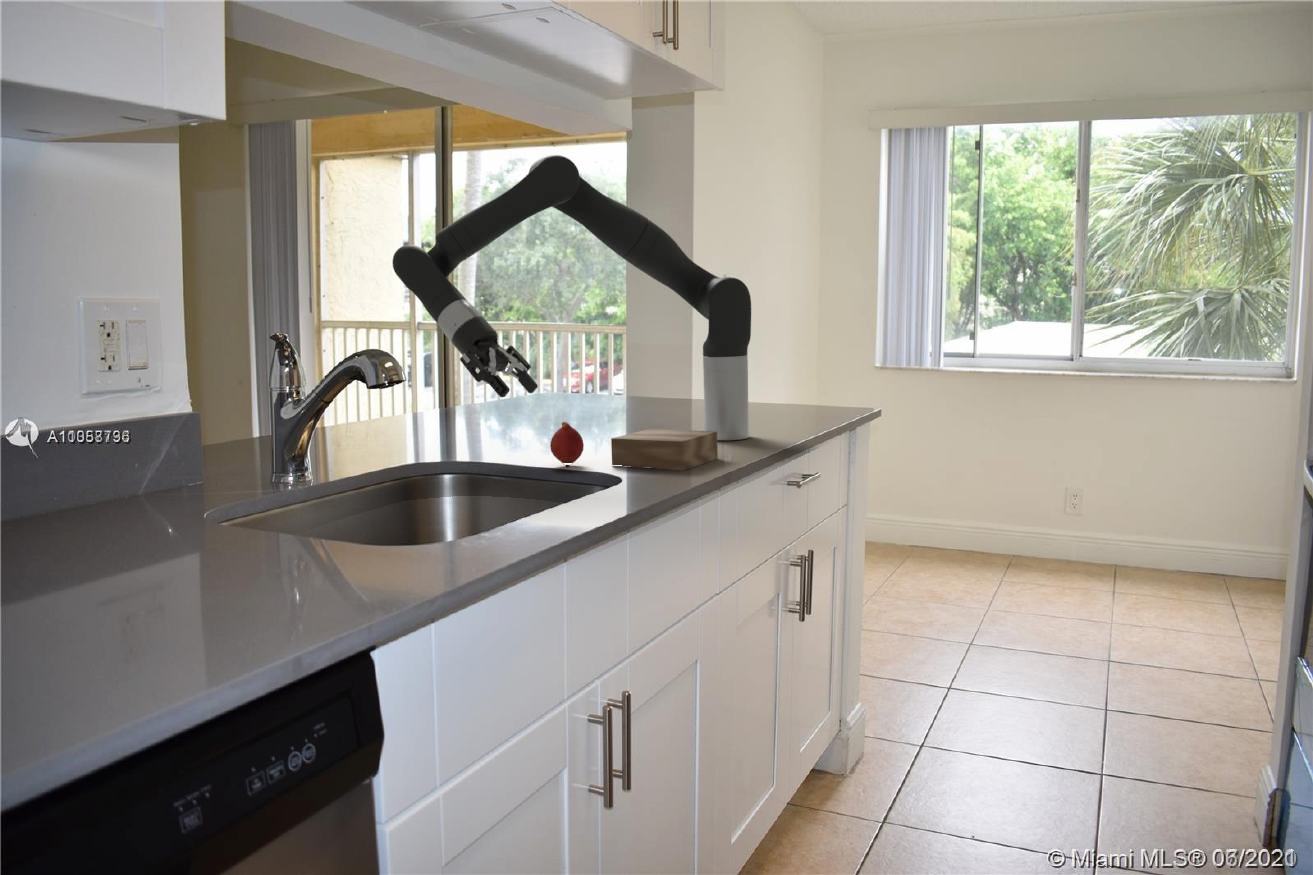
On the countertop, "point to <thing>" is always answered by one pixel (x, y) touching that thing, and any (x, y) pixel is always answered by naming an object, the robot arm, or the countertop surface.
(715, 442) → the walnut base
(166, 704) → the countertop surface
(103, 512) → the countertop surface
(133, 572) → the countertop surface
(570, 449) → the onion
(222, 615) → the countertop surface
